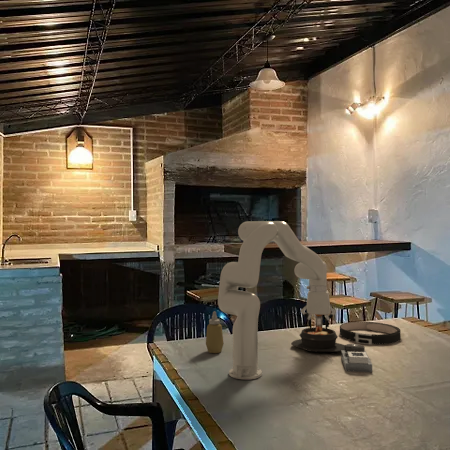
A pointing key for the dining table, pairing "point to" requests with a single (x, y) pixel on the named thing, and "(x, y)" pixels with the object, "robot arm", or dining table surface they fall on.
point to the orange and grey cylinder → (319, 323)
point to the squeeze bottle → (214, 335)
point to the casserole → (318, 341)
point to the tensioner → (356, 358)
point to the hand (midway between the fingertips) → (318, 327)
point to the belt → (370, 338)
